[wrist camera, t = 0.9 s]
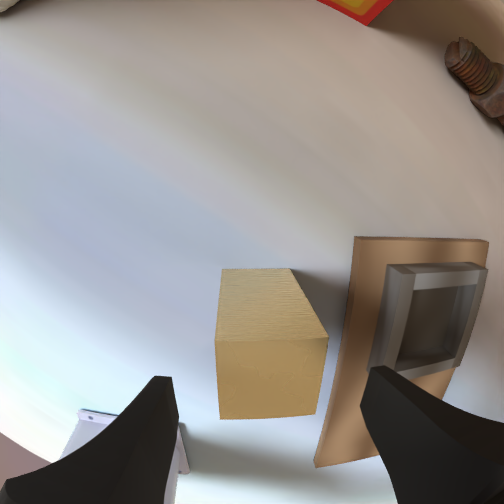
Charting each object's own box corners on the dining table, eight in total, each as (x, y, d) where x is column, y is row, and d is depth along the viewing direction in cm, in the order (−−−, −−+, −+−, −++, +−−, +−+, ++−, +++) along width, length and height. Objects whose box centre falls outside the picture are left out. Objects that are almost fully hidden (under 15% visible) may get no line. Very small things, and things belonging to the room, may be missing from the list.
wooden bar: (223, 328, 18) (220, 419, 11) (222, 269, 17) (214, 341, 10) (285, 327, 19) (314, 414, 11) (289, 268, 18) (328, 337, 10)
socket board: (313, 460, 23) (319, 483, 20) (354, 236, 17) (375, 248, 15) (415, 436, 24) (426, 454, 21) (481, 239, 18) (506, 248, 15)
